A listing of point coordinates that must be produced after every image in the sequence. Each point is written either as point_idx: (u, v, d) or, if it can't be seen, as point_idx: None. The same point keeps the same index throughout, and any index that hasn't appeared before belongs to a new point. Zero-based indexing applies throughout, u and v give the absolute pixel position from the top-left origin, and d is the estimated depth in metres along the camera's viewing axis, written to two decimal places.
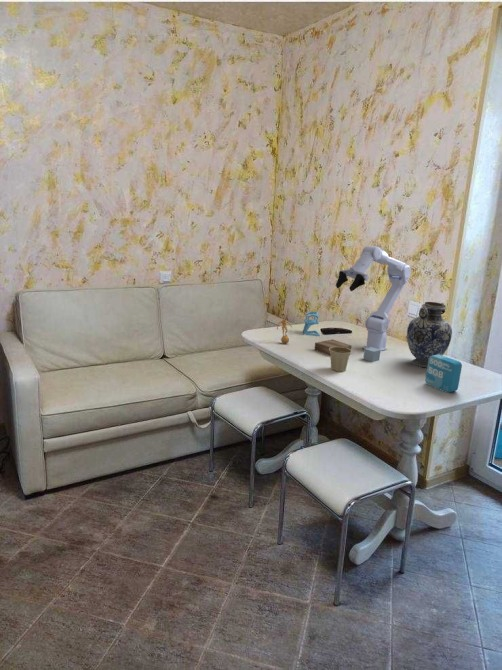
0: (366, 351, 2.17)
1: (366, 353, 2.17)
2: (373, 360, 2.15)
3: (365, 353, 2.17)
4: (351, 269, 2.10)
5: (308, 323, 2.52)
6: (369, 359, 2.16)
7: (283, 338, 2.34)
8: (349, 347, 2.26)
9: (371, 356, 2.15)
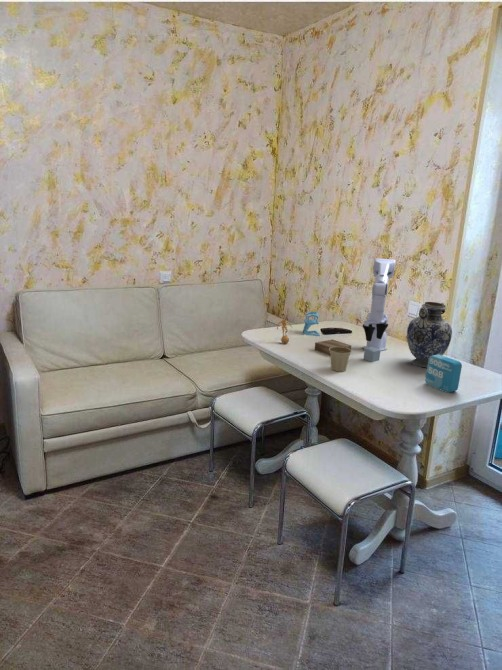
0: (366, 351, 2.17)
1: (366, 353, 2.17)
2: (373, 360, 2.15)
3: (365, 353, 2.17)
4: (381, 322, 2.11)
5: (308, 323, 2.52)
6: (369, 359, 2.16)
7: (283, 338, 2.34)
8: (349, 347, 2.26)
9: (371, 356, 2.15)
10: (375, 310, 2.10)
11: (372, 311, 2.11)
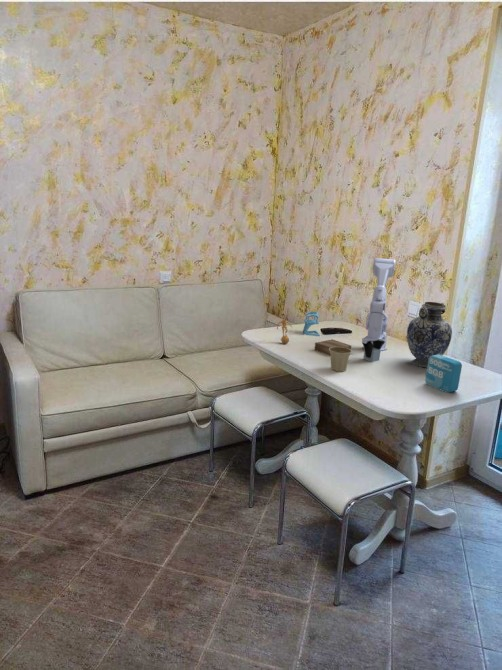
0: None
1: None
2: (373, 360, 2.15)
3: None
4: (379, 340, 2.13)
5: (308, 323, 2.52)
6: (369, 359, 2.16)
7: (283, 338, 2.34)
8: (349, 347, 2.26)
9: (371, 356, 2.15)
10: (373, 327, 2.12)
11: (370, 328, 2.13)
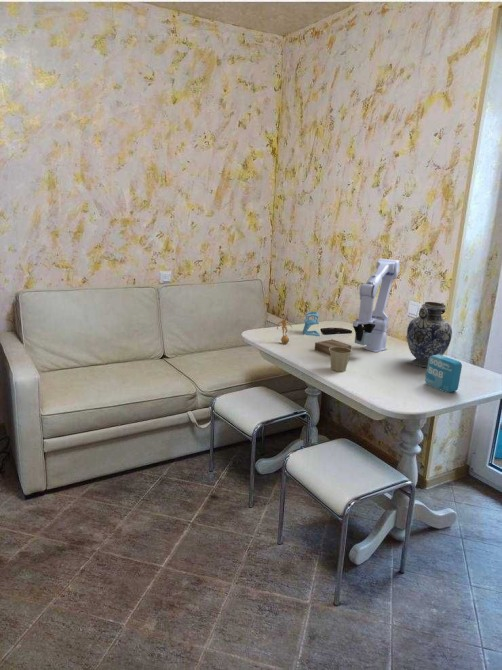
0: None
1: None
2: (364, 343, 2.16)
3: None
4: (370, 323, 2.14)
5: (308, 323, 2.52)
6: (360, 342, 2.17)
7: (283, 338, 2.34)
8: (349, 347, 2.26)
9: (362, 339, 2.16)
10: (362, 310, 2.13)
11: (361, 311, 2.14)
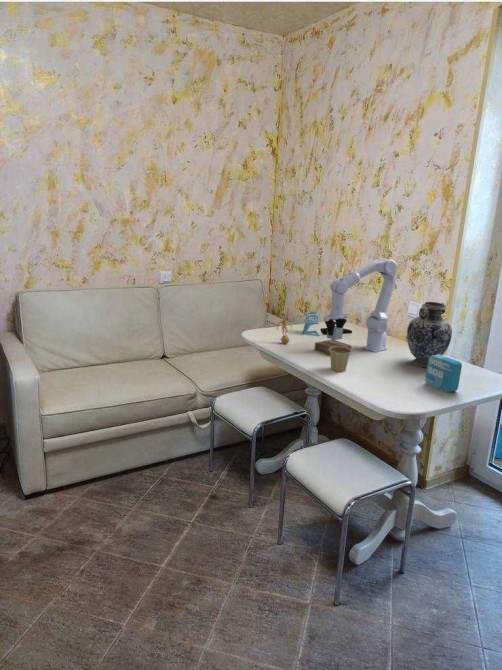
0: None
1: None
2: (335, 338, 2.23)
3: None
4: None
5: (308, 323, 2.52)
6: (332, 337, 2.23)
7: (283, 338, 2.34)
8: (349, 347, 2.26)
9: (334, 334, 2.22)
10: (331, 305, 2.22)
11: (332, 307, 2.21)
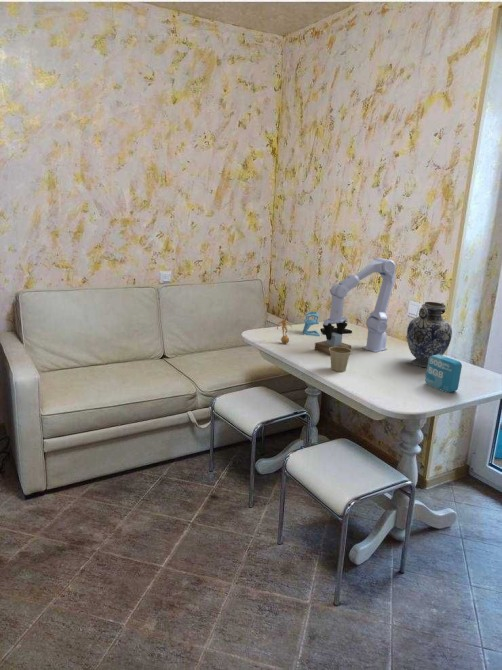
0: None
1: None
2: (335, 344, 2.23)
3: None
4: None
5: (308, 323, 2.52)
6: (331, 343, 2.24)
7: (283, 338, 2.34)
8: (349, 347, 2.26)
9: (333, 340, 2.23)
10: None
11: (331, 311, 2.21)
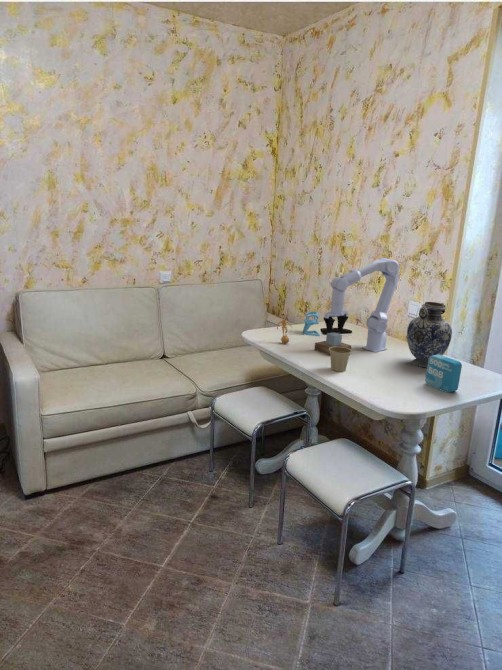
0: (328, 336, 2.25)
1: (328, 338, 2.25)
2: (334, 344, 2.23)
3: (327, 338, 2.26)
4: (341, 315, 2.22)
5: (308, 323, 2.52)
6: (331, 343, 2.24)
7: (283, 338, 2.34)
8: (349, 347, 2.26)
9: (332, 340, 2.23)
10: (331, 302, 2.23)
11: (332, 304, 2.22)
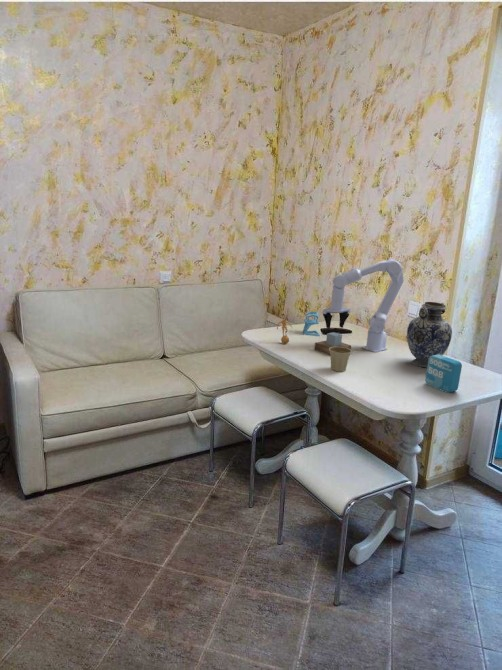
0: (328, 336, 2.25)
1: (328, 338, 2.25)
2: (335, 344, 2.23)
3: (327, 338, 2.25)
4: (339, 311, 2.29)
5: (308, 323, 2.52)
6: (331, 343, 2.24)
7: (283, 338, 2.34)
8: (349, 347, 2.26)
9: (333, 340, 2.23)
10: None
11: (331, 301, 2.30)
